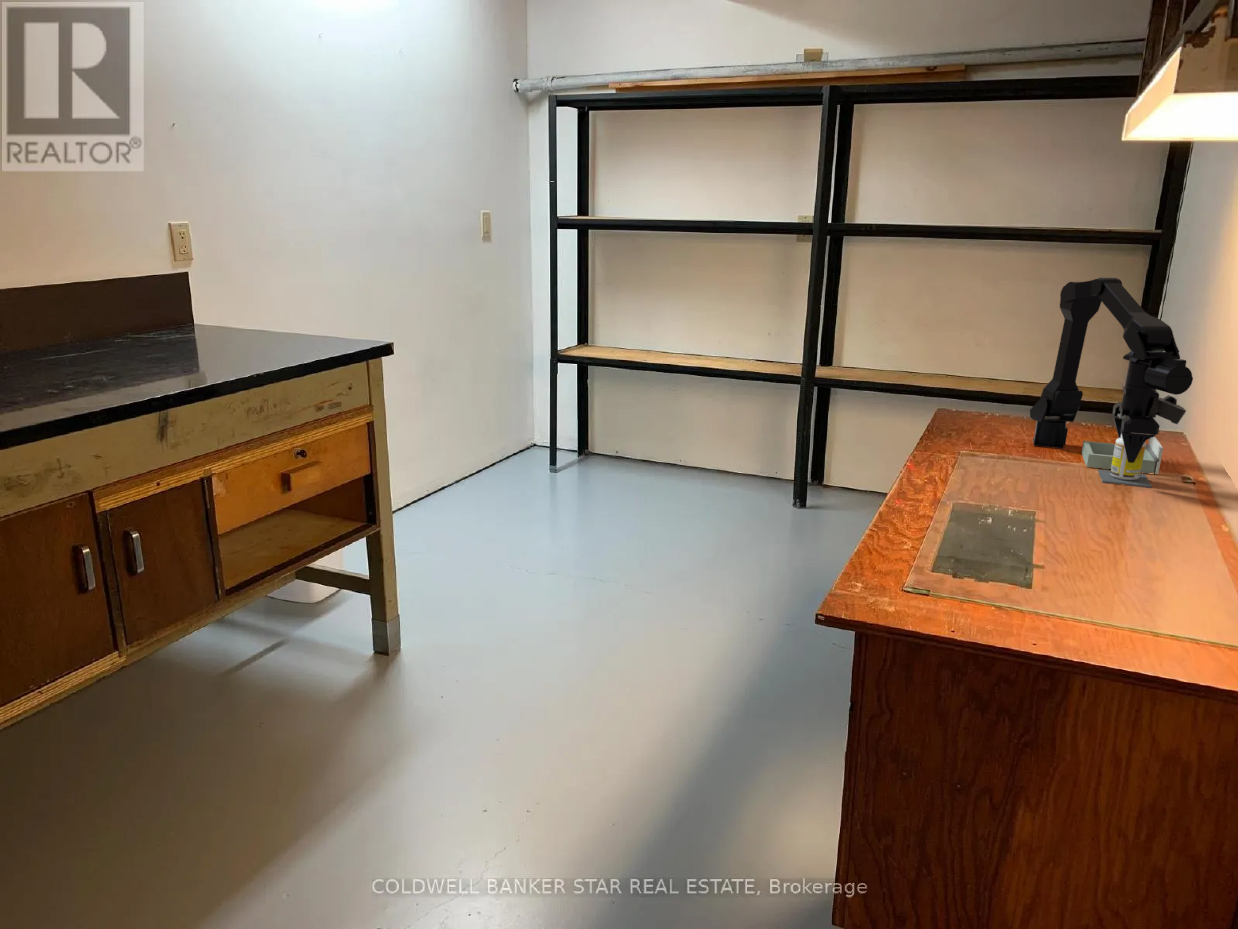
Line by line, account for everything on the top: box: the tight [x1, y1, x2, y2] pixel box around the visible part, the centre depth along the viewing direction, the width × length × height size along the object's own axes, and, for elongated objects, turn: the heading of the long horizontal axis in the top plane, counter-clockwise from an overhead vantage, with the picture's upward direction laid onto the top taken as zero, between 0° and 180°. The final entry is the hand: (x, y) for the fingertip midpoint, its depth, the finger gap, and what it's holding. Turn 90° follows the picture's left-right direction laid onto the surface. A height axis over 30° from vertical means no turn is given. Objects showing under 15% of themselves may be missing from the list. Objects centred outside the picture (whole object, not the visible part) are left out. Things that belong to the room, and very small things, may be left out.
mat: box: [1097, 469, 1153, 489], centre depth 183 cm, size 9×9×1 cm
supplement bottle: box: [1109, 434, 1147, 480], centre depth 182 cm, size 6×6×10 cm
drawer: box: [1081, 436, 1164, 475], centre depth 194 cm, size 14×13×6 cm
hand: (1127, 456), depth 182 cm, fingers open, 9 cm apart
